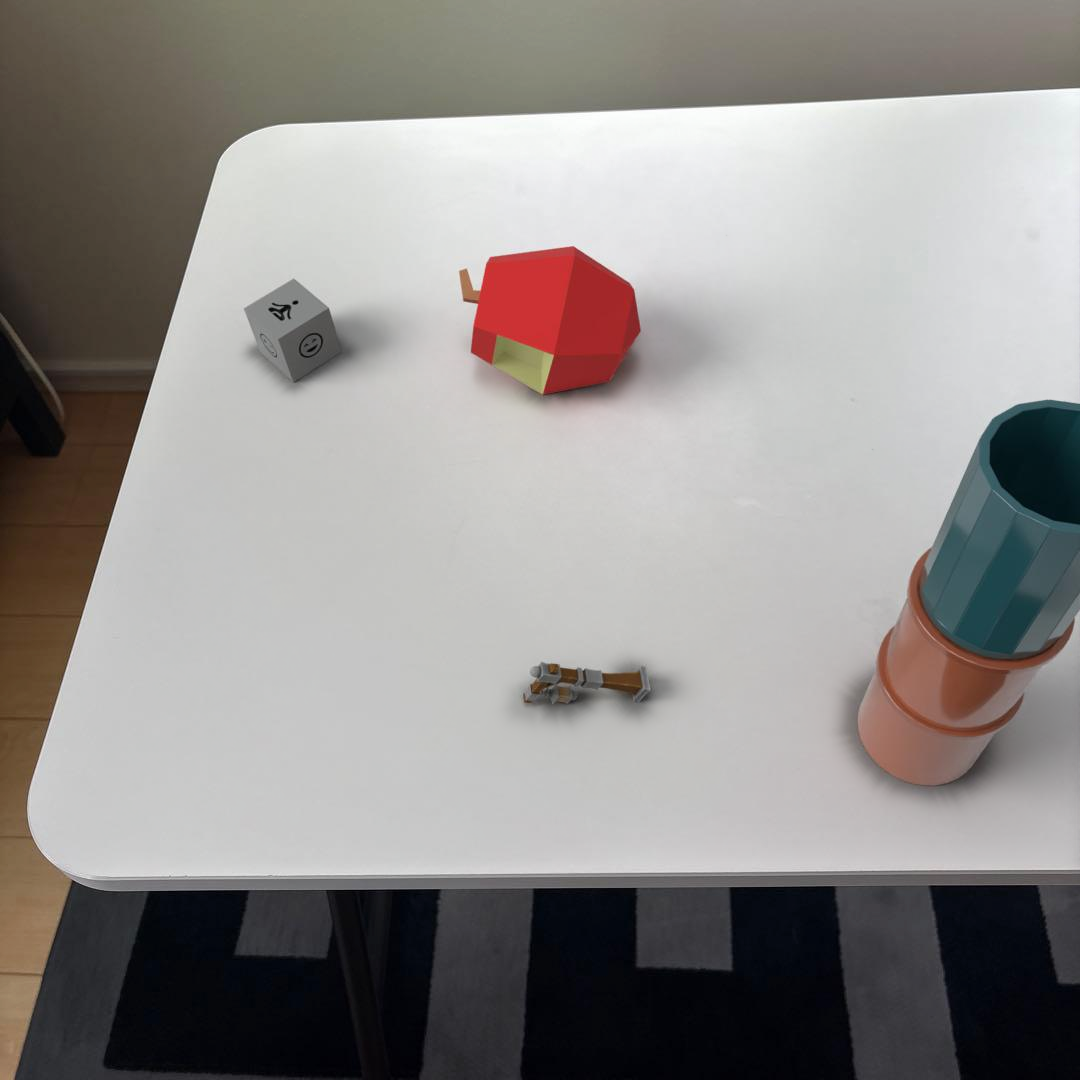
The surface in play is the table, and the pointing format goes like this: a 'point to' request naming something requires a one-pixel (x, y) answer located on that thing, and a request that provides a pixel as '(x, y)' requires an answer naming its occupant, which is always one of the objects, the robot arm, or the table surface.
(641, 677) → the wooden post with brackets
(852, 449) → the table surface
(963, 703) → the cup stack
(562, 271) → the apple
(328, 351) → the dice cube
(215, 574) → the table surface
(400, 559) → the table surface
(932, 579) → the cup
